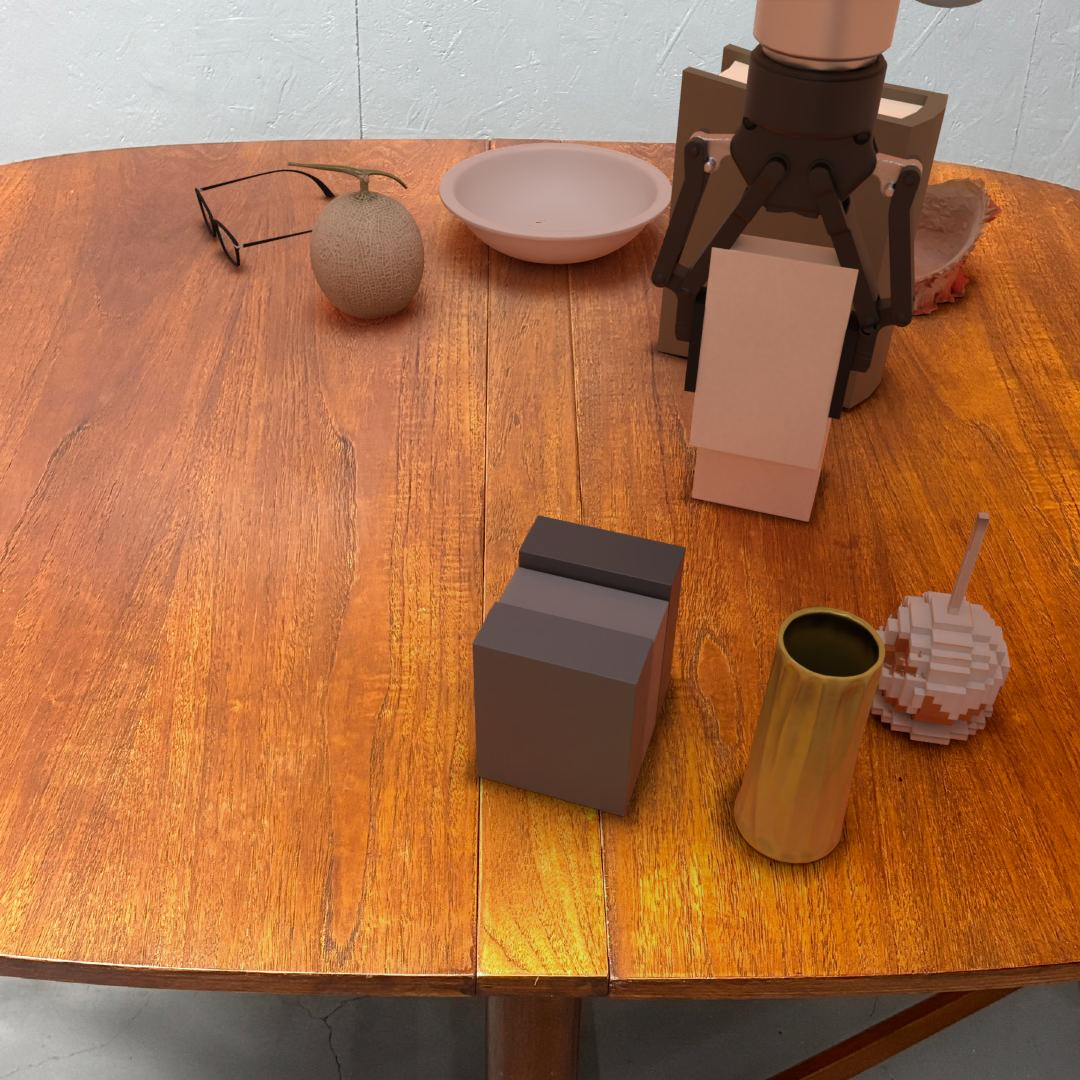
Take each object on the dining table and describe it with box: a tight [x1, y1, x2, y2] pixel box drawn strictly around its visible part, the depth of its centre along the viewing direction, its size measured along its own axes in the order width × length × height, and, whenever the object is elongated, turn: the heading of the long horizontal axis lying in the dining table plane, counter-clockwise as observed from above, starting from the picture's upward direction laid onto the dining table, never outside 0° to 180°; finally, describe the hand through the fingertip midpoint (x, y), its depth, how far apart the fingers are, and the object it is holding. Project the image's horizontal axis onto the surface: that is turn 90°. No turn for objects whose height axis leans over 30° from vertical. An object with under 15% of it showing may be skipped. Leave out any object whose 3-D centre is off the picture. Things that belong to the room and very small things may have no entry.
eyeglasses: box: [194, 169, 336, 268], centre depth 122 cm, size 16×16×4 cm
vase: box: [733, 606, 885, 864], centre depth 61 cm, size 6×6×14 cm
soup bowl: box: [438, 142, 672, 265], centre depth 120 cm, size 24×24×7 cm
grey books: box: [471, 514, 687, 817], centre depth 67 cm, size 11×9×12 cm
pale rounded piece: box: [871, 511, 1011, 746], centre depth 68 cm, size 8×8×15 cm
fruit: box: [287, 161, 425, 320], centre depth 106 cm, size 10×12×15 cm
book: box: [657, 43, 949, 410], centre depth 96 cm, size 19×8×25 cm, turn 57°
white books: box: [691, 418, 833, 522], centre depth 85 cm, size 6×9×14 cm
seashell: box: [912, 177, 1003, 316], centre depth 114 cm, size 17×11×15 cm
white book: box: [688, 234, 859, 470], centre depth 76 cm, size 2×9×15 cm, turn 71°
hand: (764, 394), depth 78 cm, fingers closed on white book, 9 cm apart
